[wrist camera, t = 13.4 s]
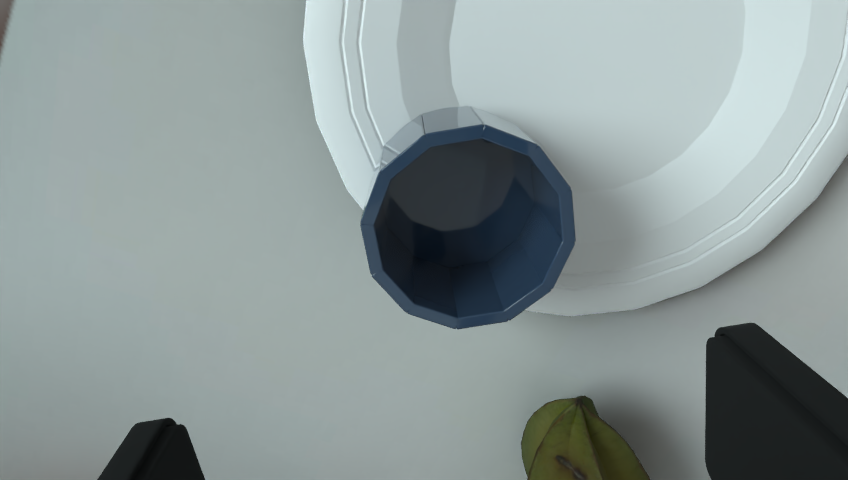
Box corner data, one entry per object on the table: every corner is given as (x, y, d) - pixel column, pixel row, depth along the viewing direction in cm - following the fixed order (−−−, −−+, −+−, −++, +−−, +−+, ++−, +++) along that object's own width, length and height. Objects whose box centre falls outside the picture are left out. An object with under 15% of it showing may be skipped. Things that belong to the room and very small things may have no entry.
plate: (213, 142, 27) (200, 150, 25) (522, -481, 20) (533, -531, 18) (634, 377, 32) (647, 398, 30) (997, -53, 25) (1043, -59, 23)
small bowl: (388, 282, 27) (384, 341, 22) (356, 122, 25) (343, 147, 20) (548, 256, 27) (581, 310, 22) (532, 92, 25) (566, 110, 19)
